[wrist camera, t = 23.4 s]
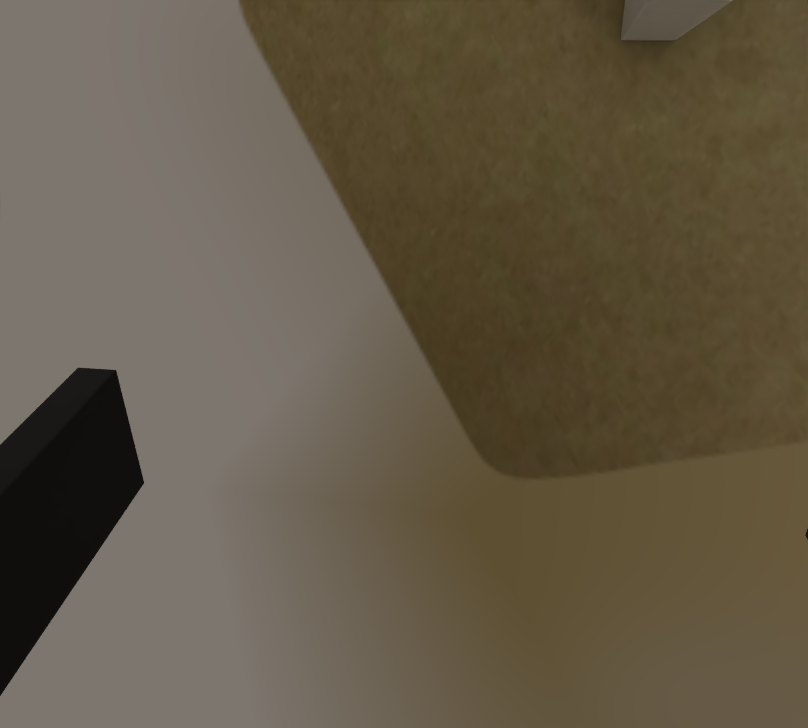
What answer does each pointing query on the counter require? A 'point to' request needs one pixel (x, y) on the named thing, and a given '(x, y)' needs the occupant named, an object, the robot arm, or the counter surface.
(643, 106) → the counter surface
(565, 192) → the counter surface
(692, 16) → the cream book
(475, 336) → the counter surface
